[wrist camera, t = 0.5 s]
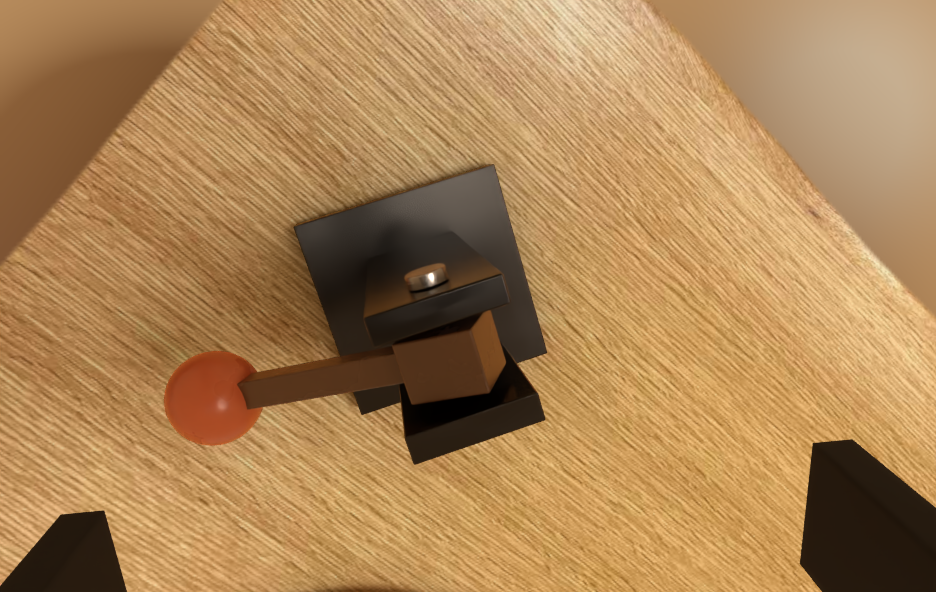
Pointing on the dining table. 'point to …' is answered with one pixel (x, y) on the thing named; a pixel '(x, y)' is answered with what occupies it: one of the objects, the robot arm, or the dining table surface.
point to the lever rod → (332, 378)
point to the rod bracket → (430, 297)
